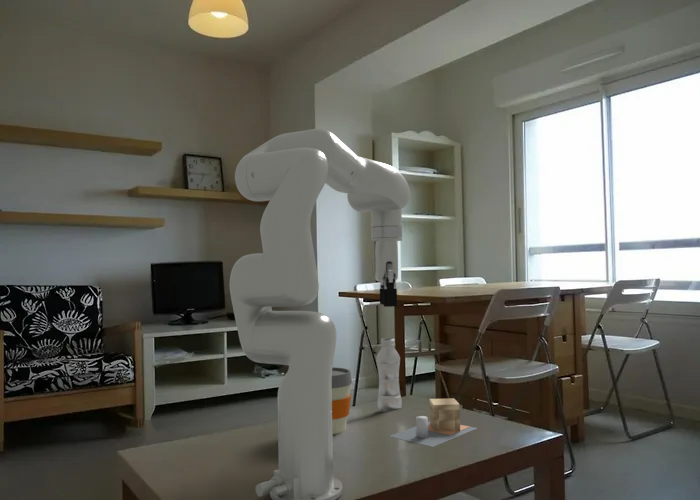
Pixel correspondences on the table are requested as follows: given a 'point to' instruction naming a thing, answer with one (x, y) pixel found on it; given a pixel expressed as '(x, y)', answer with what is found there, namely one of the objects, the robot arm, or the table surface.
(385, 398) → the plastic bottle
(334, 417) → the reusable coffee cup
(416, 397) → the table surface
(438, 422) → the wooden block
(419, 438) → the post plate
